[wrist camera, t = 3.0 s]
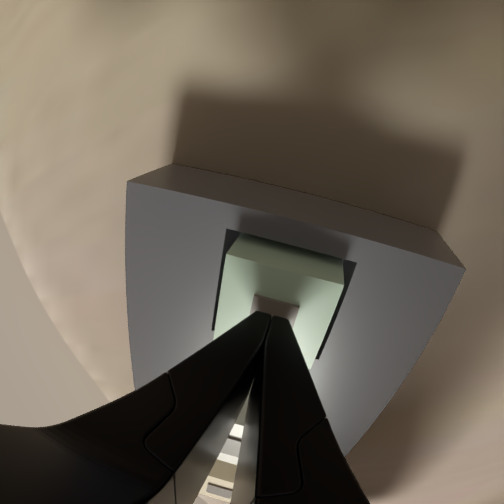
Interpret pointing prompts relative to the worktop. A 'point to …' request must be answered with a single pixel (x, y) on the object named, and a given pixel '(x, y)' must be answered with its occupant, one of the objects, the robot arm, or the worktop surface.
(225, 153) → the worktop surface
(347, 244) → the gray key socket board
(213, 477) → the key
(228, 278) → the key
